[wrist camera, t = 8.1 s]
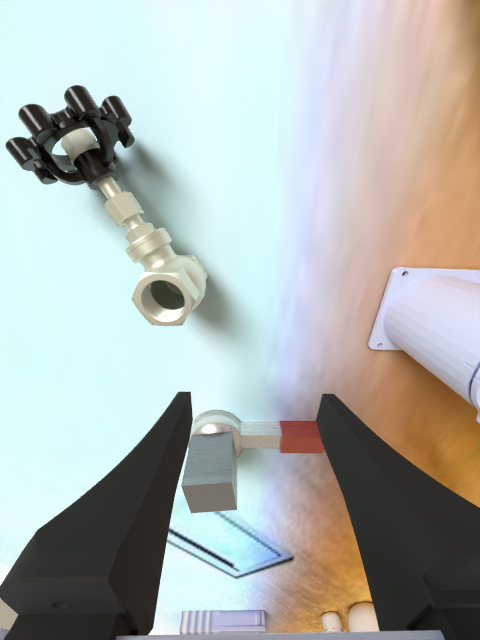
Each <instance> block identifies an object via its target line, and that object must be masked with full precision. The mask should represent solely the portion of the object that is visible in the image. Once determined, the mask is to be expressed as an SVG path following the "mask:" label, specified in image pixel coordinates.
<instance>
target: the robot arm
mask: <svg viewBox="0 0 480 640" xmlns="http://www.w3.org/2000/svg"><path fill="white" fill-rule="evenodd" d="M404 271H405V274H404V275H403V276H402V273H403V272H404ZM379 343H380V345H378V344H379ZM377 345H378V346H377ZM368 347H369V348H371V349H373V350H403V351H405V352H406V353H407V354H408V355H410V356H411V357H412V358H413V359H415V360H416V361H417V362H418V363H420V364H421V365H422V366H423V367H425V368H426V369H427V370H428V371H430V372H431V373H432V374H434V375H435V376H436V377H437V378H439V379H440V380H441V381H442V382H444V383H445V384H446V385H447V386H449V387H450V388H451V389H452V390H454V391H455V392H456V393H457V394H459V395H460V396H461V397H462V398H464V399H465V400H466V401H467V402H469V403H470V404H471V405H472V406H474V407H475V408H476V409H477V411H478V416H477V419H476V421H477V422H478V423H480V270H469V269H438V268H407V267H397V268H395V269H393V270H392V272H391V274H390V277H389V280H388V283H387V287H386V290H385V293H384V296H383V299H382V302H381V305H380V308H379V311H378V314H377V317H376V320H375V324H374V327H373V330H372V333H371V336H370V339H369V342H368ZM192 420H193V418H192V405H191V392H178V393H177V394H176V396H175V398H174V399H173V401H172V402H171V403H170V405H169V406H168V408H167V409H166V410H165V412H164V413H163V414H162V416H161V417H160V418H159V420H158V421H157V422H156V424H155V425H154V426H153V427H152V428H151V430H150V431H149V432H148V433H147V434H146V435H145V437H144V438H143V439H142V440H141V441H140V442H139V443H138V445H137V446H136V447H135V448H134V449H133V450H132V451H131V452H130V453H129V454H128V455H127V456H126V457H125V458H124V459H123V460H122V461H121V462H120V463H119V464H118V465H117V466H116V467H115V468H114V469H113V470H112V471H111V472H109V473H108V474H107V475H106V476H105V477H104V478H103V479H102V480H101V481H99V482H98V483H97V484H96V485H95V486H93V487H92V488H91V489H90V490H89V491H87V492H86V493H85V494H84V495H83V496H81V497H80V498H79V499H78V500H77V501H75V502H74V503H73V504H72V505H70V506H69V507H68V508H66V509H65V510H64V511H62V512H61V513H60V514H58V515H57V516H56V517H54V518H53V519H52V520H50V521H49V522H48V523H46V524H45V525H44V526H42V527H41V528H40V529H38V530H37V532H36V533H35V535H34V536H33V537H32V539H31V540H30V541H29V543H28V544H27V545H26V547H25V548H24V550H23V551H22V553H21V554H20V556H19V558H18V559H17V561H16V562H15V564H14V565H13V567H12V569H11V570H10V572H9V573H8V575H7V576H6V578H5V580H4V581H3V583H2V584H1V586H0V598H1V599H2V600H3V601H4V602H5V603H6V604H7V605H8V606H9V607H11V608H12V609H13V610H14V611H15V612H16V613H17V614H18V617H17V619H16V620H15V622H14V624H13V626H12V628H11V629H10V631H9V630H7V629H2V628H0V640H480V508H479V507H477V506H475V505H474V504H472V503H470V502H469V501H467V500H466V499H464V498H462V497H461V496H459V495H458V494H456V493H454V492H453V491H451V490H450V489H448V488H447V487H445V486H444V485H442V484H441V483H439V482H438V481H436V480H435V479H433V478H432V477H430V476H429V475H427V474H426V473H425V472H423V471H422V470H420V469H419V468H417V467H416V466H415V465H413V464H412V463H411V462H409V461H408V460H407V459H405V458H404V457H403V456H402V455H400V454H399V453H398V452H396V451H395V450H394V449H393V448H391V447H390V446H389V445H388V444H387V443H386V442H384V441H383V440H382V439H381V438H380V437H379V436H377V435H376V434H375V433H374V432H373V431H372V430H371V429H370V428H368V427H367V426H366V425H365V424H364V423H363V422H362V421H361V420H360V419H359V418H358V417H357V416H356V415H355V414H354V413H353V412H352V411H351V410H350V409H349V408H348V407H347V406H346V405H345V404H344V403H343V402H342V401H341V400H340V399H339V398H337V397H336V396H335V395H334V394H323V395H322V399H321V403H320V407H319V411H318V415H317V419H316V422H317V426H318V430H319V434H320V437H321V441H322V443H323V446H324V448H325V451H326V453H327V456H328V458H329V461H330V463H331V466H332V468H333V471H334V473H335V475H336V478H337V480H338V483H339V485H340V488H341V491H342V494H343V496H344V500H345V503H346V506H347V509H348V512H349V516H350V519H351V522H352V526H353V529H354V533H355V536H356V540H357V543H358V547H359V550H360V554H361V558H362V562H363V565H364V569H365V573H366V577H367V581H368V585H369V589H370V593H371V597H372V601H373V605H374V610H375V614H376V618H377V623H378V627H379V631H373V632H316V633H259V634H203V635H148V634H149V633H150V631H151V630H152V628H153V624H154V618H155V611H156V604H157V598H158V591H159V585H160V578H161V572H162V566H163V560H164V554H165V547H166V542H167V536H168V530H169V524H170V519H171V513H172V508H173V502H174V497H175V492H176V488H177V484H178V480H179V476H180V473H181V469H182V465H183V462H184V458H185V454H186V450H187V447H188V443H189V439H190V433H191V427H192Z"/></svg>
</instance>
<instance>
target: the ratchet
mask: <svg viewBox="0 0 480 640" xmlns="http://www.w3.org/2000/svg"><path fill="white" fill-rule="evenodd" d="M230 431H233V437H234V443H235V449H236V456H237V457H238V456H239V455H240V453H241V451H242V448H280V453H323V451H324V446H323V443H322V441H321V437H320V434H319V430H318V426H317V422H316V421H280V422H240V420H239V419H238V418H237V417H236V416H235V415H233V414H232V413H230V412H227V411H223V410H210V411H206V412H204V413H202V414H200V415H199V416H197V417H196V419H195V420H194V422H193V425H192V430H191V435H190V440H189V445H188V447H189V446H190V441H191V436H192V435H194V434H206V433H218V432H230Z"/></svg>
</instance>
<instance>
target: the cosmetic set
mask: <svg viewBox="0 0 480 640" xmlns="http://www.w3.org/2000/svg"><path fill="white" fill-rule="evenodd" d="M322 622H323V627H324V631H325V632H343V628H342V624H341V620H340V617H339V615H338V614H337V613H335V612H327V613H324V614H323V615H322ZM348 626H349V630H350V632H373V631H379V627H378V623H377V618H376V614H375V610H374V605H373V604H372V603H369V602H361V603H357V604H355V605H353V606H352V607H351V609H350V610H349V613H348Z"/></svg>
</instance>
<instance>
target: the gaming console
mask: <svg viewBox="0 0 480 640" xmlns="http://www.w3.org/2000/svg"><path fill="white" fill-rule="evenodd" d="M265 630H266V625H265V613H264V610H244V611H220V610H211V611H207V610H205V611H183V612H182V619H181V626H180V635H203V634H259V633H265Z"/></svg>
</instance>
